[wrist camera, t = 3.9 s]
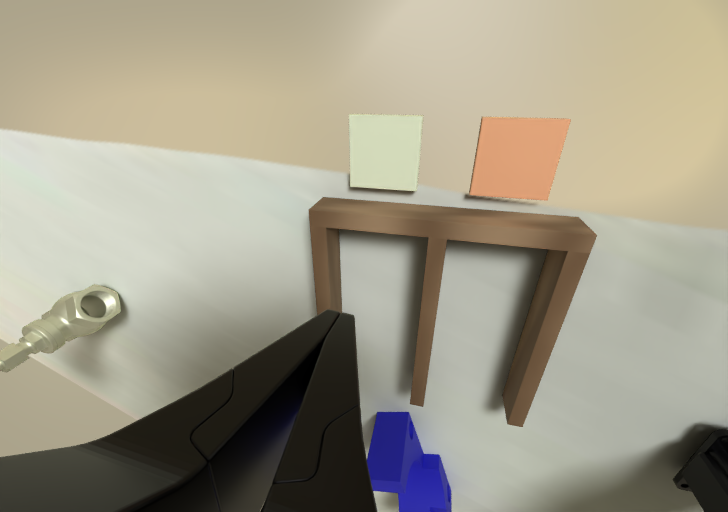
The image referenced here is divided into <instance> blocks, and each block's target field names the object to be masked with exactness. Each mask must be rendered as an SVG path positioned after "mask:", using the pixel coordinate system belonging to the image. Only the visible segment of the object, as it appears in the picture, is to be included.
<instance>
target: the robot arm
mask: <svg viewBox="0 0 728 512" xmlns="http://www.w3.org/2000/svg"><path fill="white" fill-rule="evenodd" d="M673 481H674V483H675V485H676V486H677V488H679V489H682V490H686V491H691V492H693V494H694V495H695V497H696V499H697V500H698V502H699V504H700V505H701V507H702V508H703V510H704V512H728V430H717V431H714V432H713V433H712V434H711V435H710V436H709V438H708V439H707V440H706V441H705V442H704V443H703V445H702V446H701V447H700V448H699V449H698V450H697V452H696V453H695V454H694V455H693V456H692V457H691V459H690V460H689V461H688V462H687V463H686V464H685V466H684V467H683V468H682V469H681V470H680V471H679V473H678V474H677V475H676V476H675V477H674V478H673ZM264 502H265V503H264ZM263 504H264V505H263ZM262 506H263V507H262ZM261 508H262V509H261ZM260 510H261V511H260ZM0 512H377V508H376V503H375V498H374V493H373V488H372V484H371V479H370V474H369V469H368V464H367V459H366V453H365V447H364V442H363V433H362V423H361V408H360V395H359V380H358V364H357V349H356V334H355V318H354V316H353V315H351V314H347V313H341V314H340V312H339V311H335V310H331V309H327V310H325V311H323V312H322V313H320V314H319V315H317V316H315V317H314V318H312V319H311V320H309V321H307V322H306V323H304V324H303V325H301V326H299V327H298V328H296V329H295V330H293V331H291V332H290V333H288V334H287V335H285V336H283V337H282V338H280V339H279V340H277V341H275V342H274V343H272V344H271V345H269V346H267V347H266V348H264V349H263V350H261V351H259V352H258V353H256V354H255V355H253V356H251V357H250V358H248V359H247V360H245V361H243V362H242V363H240V364H239V365H237V366H235V367H234V369H230V370H229V371H227V372H226V373H224V374H222V375H221V376H219V377H217V378H216V379H214V380H212V381H211V382H209V383H207V384H206V385H204V386H202V387H201V388H199V389H197V390H195V391H193V392H191V393H190V394H188V395H186V396H184V397H182V398H180V399H178V400H177V401H175V402H173V403H171V404H169V405H167V406H165V407H163V408H161V409H159V410H157V411H155V412H153V413H151V414H149V415H147V416H145V417H143V418H142V419H140V420H138V421H136V422H134V423H132V424H130V425H128V426H126V427H124V428H122V429H120V430H118V431H116V432H114V433H112V434H110V435H107V436H105V437H102V438H100V439H97V440H94V441H91V442H88V443H85V444H80V445H76V446H71V447H65V448H58V449H52V450H45V451H38V452H32V453H25V454H19V455H12V456H5V457H0Z"/></svg>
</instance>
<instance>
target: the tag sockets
mask: <svg viewBox="0 0 728 512" xmlns="http://www.w3.org/2000/svg"><path fill="white" fill-rule="evenodd" d="M570 121H571V120H570V119H564V118H563V119H562V118H561V119H560V118H518V117H482V119H481V126H480V131H479V138H478V144H477V149H476V155H475V162H474V167H473V173H472V179H471V185H470V191H469V193H470V195H477V196H491V197H505V198H520V199H535V200H548V197H549V193H550V190H551V186H552V183H553V180H554V176H555V172H556V169H557V166H558V162H559V159H560V155H561V152H562V148H563V145H564V142H565V138H566V134H567V131H568V128H569V124H570ZM422 127H423V115H382V114H349V144H350V146H349V147H350V187H363V188H377V189H391V190H406V191H417V185H418V174H419V161H420V151H421V150H420V149H421V139H422ZM309 220H310V232H311V244H312V256H313V268H314V280H315V293H316V305H317V315H319V314H320V313H322V312H323V311H325V310H327V309H331V310H335V311H339V312H340V314H341V313H342V298H341V270H340V242H339V229H348V230H358V231H368V232H378V233H388V234H398V235H408V236H419V237H429V238H428V247H427V256H426V265H425V274H424V283H423V292H422V301H421V310H420V319H419V328H418V337H417V346H416V355H415V363H414V372H413V381H412V390H411V399H410V404H412V405H417V406H422V407H423V405H424V398H425V391H426V384H427V377H428V370H429V363H430V356H431V349H432V342H433V335H434V328H435V321H436V314H437V307H438V300H439V293H440V286H441V279H442V272H443V265H444V258H445V251H446V244H447V239H449V240H459V241H469V242H479V243H489V244H500V245H510V246H520V247H530V248H540V249H548V252H547V255H546V258H545V261H544V264H543V268H542V271H541V274H540V277H539V280H538V283H537V287H536V290H535V293H534V296H533V299H532V302H531V306H530V309H529V312H528V315H527V318H526V321H525V325H524V328H523V331H522V334H521V337H520V340H519V344H518V347H517V350H516V353H515V356H514V359H513V363H512V366H511V369H510V372H509V375H508V378H507V381H506V385H505V388H504V391H503V394H502V396H503V402H504V408H505V413H506V419H507V424H509V425H514V426H519V427H523V424H524V422H525V419H526V417H527V414H528V411H529V409H530V406H531V404H532V401H533V399H534V396H535V393H536V391H537V388H538V386H539V383H540V381H541V378H542V375H543V373H544V370H545V368H546V365H547V363H548V360H549V357H550V355H551V352H552V350H553V347H554V345H555V342H556V339H557V337H558V334H559V332H560V329H561V327H562V324H563V321H564V319H565V316H566V314H567V311H568V309H569V306H570V303H571V301H572V298H573V296H574V293H575V291H576V288H577V285H578V283H579V280H580V278H581V275H582V273H583V270H584V267H585V265H586V262H587V260H588V257H589V255H590V252H591V249H592V247H593V244H594V242H595V239H596V237H597V235H596V234H595V233H594V232H593V231H592V230H591V229H590V228H589V227H588V226H587V225H586V224H585V223H584V222H583V221H582V220H581V219H580V218H579V217H569V216H556V215H544V214H531V213H518V212H505V211H493V210H480V209H467V208H454V207H442V206H429V205H416V204H404V203H391V202H378V201H365V200H353V199H340V198H327V197H323V198H322V199H321V200H319V201H318V202H317V203H316V204H315V205H314V206H313V207H311V208H310V209H309Z"/></svg>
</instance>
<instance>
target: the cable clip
mask: <svg viewBox="0 0 728 512" xmlns="http://www.w3.org/2000/svg"><path fill="white" fill-rule="evenodd" d="M367 464H368V469H369V474H370V479H371V484H372V488H373V491H381V492H392V493H398V498H399V512H451V489H450V486H449V483H448V480H447V477H446V474H445V471H444V467H443V464H442V461H441V458H440V455H436V454H424V453H423V450H422V448H421V445H420V442H419V439H418V436H417V434H416V431H415V428H414V425H413V422H412V420H411V417H410V414H409V412H377V417H376V421H375V426H374V430H373V435H372V439H371V444H370V449H369V453H368V458H367Z"/></svg>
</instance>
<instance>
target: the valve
mask: <svg viewBox="0 0 728 512" xmlns="http://www.w3.org/2000/svg"><path fill="white" fill-rule="evenodd" d="M120 312H121V307H120V300H119V296H118V293H117V292H115V291H113V290H111V289H108V288H106V287H103V286H100V285H96V284H94V285H92V286H90V287H88V288H86V289H85V290H83V291H78V292H73V293H70V294H68V295H65V296H64V297H62V298H60V299H59V300H58V301H57V302H56V303H55V304H54V305H53V307H52V309H51V310H50V311H48V312H46V313H45V314H43V315H42V319H37V320H35V321H33V322H31V323H30V324H28V325H26V326H24V327H23V328H22V334H23V336H24V337H22V338H20V339H19V342H20V343H18V344H17V345H15V344H14V343H12V344H10V345H9V346H7V347H5V348H3V349H2V350H0V371H3V372H8V371H10V370H12V369H14V368H15V367H16V366H18V365H20V364H21V363H23V362H24V361H26V360H27V359H29V356H28V355H29V354H31V353H33V354H36V353H38V352H40V351H41V352H44V353H53V352H54V351H56V350H57V349H59V348H60V347H62V346H63V345H64V344H65V341H71V340H73V339H75V338H77V337H82V336H86V335H90V334H92V333H94V332H96V331H98V330H99V329H101V328H102V327H103V326H104V325H105V324H106V322H107V321H108V320H110V319H111V318H113V317H114V316H116V315H117V314H119V313H120Z"/></svg>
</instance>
